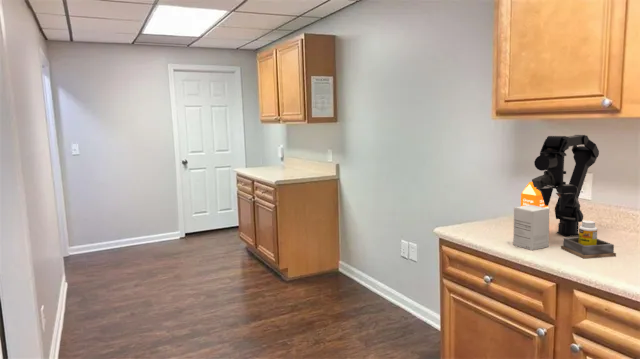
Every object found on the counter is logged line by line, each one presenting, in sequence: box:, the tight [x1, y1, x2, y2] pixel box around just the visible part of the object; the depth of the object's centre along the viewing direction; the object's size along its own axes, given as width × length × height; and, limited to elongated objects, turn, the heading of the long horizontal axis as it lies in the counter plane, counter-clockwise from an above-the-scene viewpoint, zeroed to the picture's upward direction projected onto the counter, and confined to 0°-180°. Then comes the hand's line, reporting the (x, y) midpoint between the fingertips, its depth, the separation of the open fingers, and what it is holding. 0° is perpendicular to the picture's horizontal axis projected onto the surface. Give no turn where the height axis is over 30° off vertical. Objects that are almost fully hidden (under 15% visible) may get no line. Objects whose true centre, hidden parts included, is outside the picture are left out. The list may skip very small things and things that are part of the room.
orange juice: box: [520, 181, 549, 208], centre depth 198 cm, size 8×9×20 cm
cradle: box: [560, 236, 617, 260], centre depth 158 cm, size 12×12×4 cm
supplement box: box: [512, 205, 550, 251], centre depth 168 cm, size 9×9×15 cm
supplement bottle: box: [578, 219, 598, 246], centre depth 158 cm, size 6×6×10 cm
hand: (553, 207), depth 173 cm, fingers open, 9 cm apart
